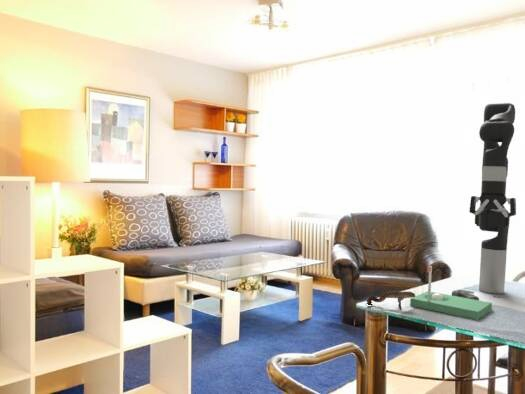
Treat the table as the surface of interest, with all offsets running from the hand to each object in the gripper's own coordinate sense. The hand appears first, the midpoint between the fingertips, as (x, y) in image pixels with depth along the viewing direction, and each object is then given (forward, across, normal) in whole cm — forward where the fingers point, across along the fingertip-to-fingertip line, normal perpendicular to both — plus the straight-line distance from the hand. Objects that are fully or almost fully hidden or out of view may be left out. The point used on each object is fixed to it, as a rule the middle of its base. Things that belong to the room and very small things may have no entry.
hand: (491, 227), depth 162 cm
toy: (+28, +24, +26) cm, 45 cm away
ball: (+26, +14, +10) cm, 31 cm away
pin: (+26, +14, +18) cm, 34 cm away
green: (+28, +9, +10) cm, 31 cm away
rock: (+29, +9, -4) cm, 30 cm away
